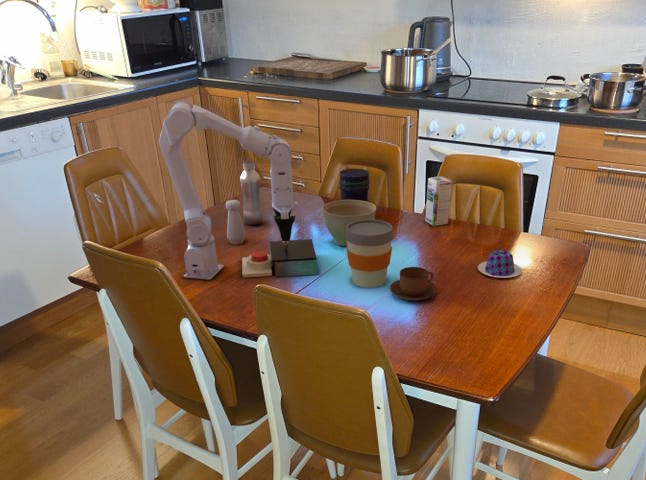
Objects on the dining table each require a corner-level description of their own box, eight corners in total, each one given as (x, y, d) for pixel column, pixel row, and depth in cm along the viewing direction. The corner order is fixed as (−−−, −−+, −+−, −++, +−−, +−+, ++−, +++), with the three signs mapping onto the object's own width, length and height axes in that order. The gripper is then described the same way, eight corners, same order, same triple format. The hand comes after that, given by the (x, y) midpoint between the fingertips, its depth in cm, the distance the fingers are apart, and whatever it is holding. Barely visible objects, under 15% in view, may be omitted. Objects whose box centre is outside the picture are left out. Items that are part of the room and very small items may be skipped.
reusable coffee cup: (352, 292, 167) (352, 238, 159) (340, 274, 177) (339, 221, 169) (398, 287, 170) (400, 232, 162) (383, 269, 180) (384, 217, 172)
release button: (252, 263, 178) (251, 257, 177) (251, 257, 182) (251, 251, 181) (267, 262, 179) (267, 256, 178) (267, 256, 182) (266, 250, 181)
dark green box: (275, 277, 176) (274, 262, 174) (273, 257, 188) (272, 243, 186) (317, 274, 177) (316, 259, 175) (312, 254, 189) (311, 241, 187)
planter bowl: (384, 246, 194) (385, 211, 189) (334, 254, 189) (333, 218, 184) (363, 229, 207) (364, 196, 202) (316, 236, 202) (315, 202, 197)
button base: (242, 277, 176) (241, 268, 174) (242, 260, 186) (241, 251, 184) (274, 275, 177) (273, 266, 175) (272, 258, 187) (271, 249, 185)
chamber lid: (271, 262, 173) (270, 248, 171) (269, 243, 186) (268, 230, 184) (316, 259, 175) (316, 245, 173) (311, 240, 187) (311, 227, 185)
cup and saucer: (407, 281, 173) (408, 259, 170) (445, 292, 166) (447, 270, 163) (380, 296, 165) (381, 274, 162) (419, 309, 159) (420, 286, 155)
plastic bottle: (240, 226, 211) (234, 164, 201) (249, 219, 216) (243, 159, 206) (258, 227, 209) (253, 165, 199) (266, 221, 215) (262, 160, 204)
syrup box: (424, 221, 214) (426, 177, 206) (439, 218, 216) (442, 175, 208) (433, 226, 209) (436, 182, 202) (448, 224, 211) (452, 180, 204)
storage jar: (374, 215, 219) (374, 171, 212) (359, 223, 212) (359, 178, 205) (349, 210, 224) (349, 167, 216) (334, 218, 217) (333, 173, 209)
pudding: (506, 260, 185) (508, 243, 182) (530, 276, 175) (533, 258, 172) (469, 266, 181) (471, 249, 178) (492, 283, 171) (494, 264, 169)
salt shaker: (248, 239, 201) (244, 198, 194) (244, 245, 196) (239, 204, 189) (230, 238, 201) (225, 197, 195) (225, 245, 196) (220, 203, 190)
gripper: (299, 194, 165) (301, 244, 172) (295, 178, 177) (297, 226, 184) (271, 195, 164) (275, 245, 171) (269, 180, 176) (273, 227, 183)
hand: (285, 235), depth 178 cm, fingers open, 7 cm apart
